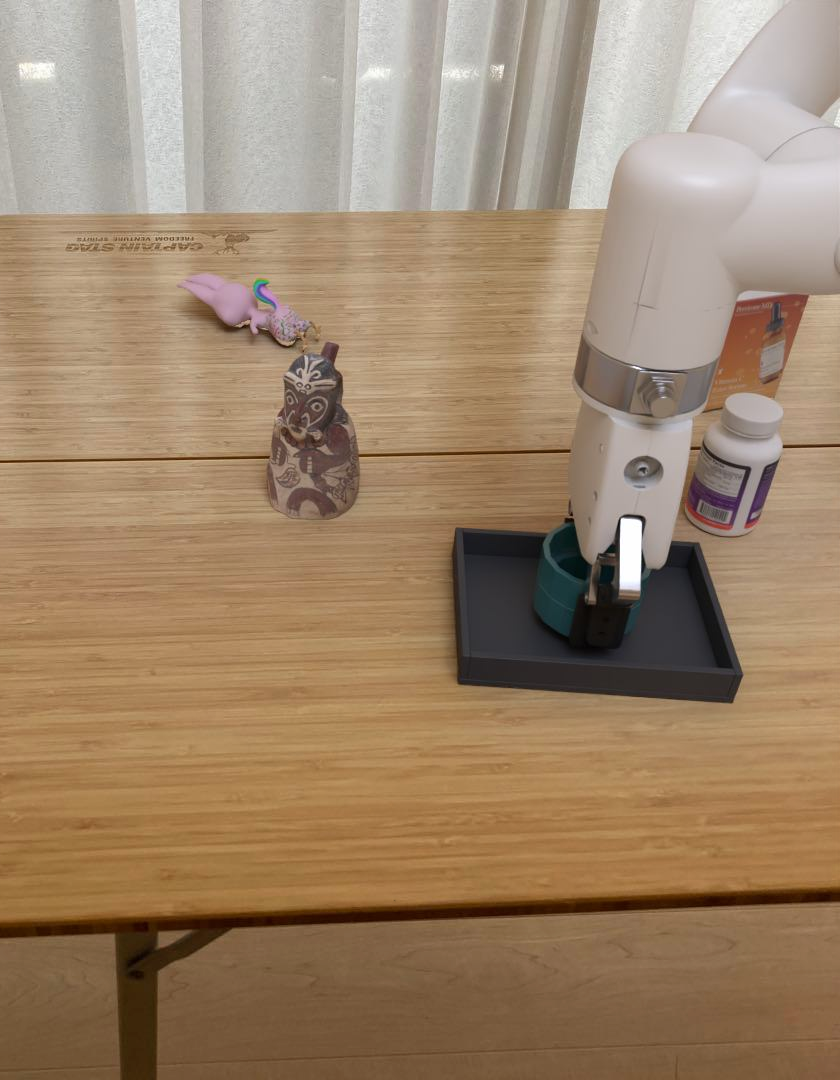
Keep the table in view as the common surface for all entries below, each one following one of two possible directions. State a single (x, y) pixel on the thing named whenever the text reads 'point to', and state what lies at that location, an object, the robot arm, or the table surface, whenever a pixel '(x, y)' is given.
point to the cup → (571, 579)
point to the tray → (554, 664)
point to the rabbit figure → (248, 306)
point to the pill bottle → (736, 466)
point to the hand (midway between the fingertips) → (586, 603)
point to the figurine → (313, 442)
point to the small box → (757, 345)
